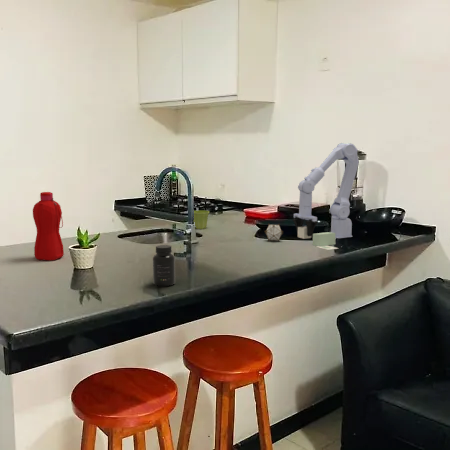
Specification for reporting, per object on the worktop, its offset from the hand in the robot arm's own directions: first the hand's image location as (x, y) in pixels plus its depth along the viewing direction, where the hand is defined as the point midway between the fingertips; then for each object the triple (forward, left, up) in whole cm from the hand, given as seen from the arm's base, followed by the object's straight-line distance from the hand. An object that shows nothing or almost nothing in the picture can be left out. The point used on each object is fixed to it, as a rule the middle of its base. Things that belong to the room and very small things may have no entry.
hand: (304, 234), depth 240 cm
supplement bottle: (+91, +41, -2) cm, 100 cm away
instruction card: (+7, +23, -1) cm, 24 cm away
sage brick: (+4, +18, -1) cm, 18 cm away
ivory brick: (0, 0, -2) cm, 2 cm away
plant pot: (+30, -47, -2) cm, 56 cm away
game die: (+18, 0, -2) cm, 18 cm away
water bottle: (+113, -12, -2) cm, 114 cm away
